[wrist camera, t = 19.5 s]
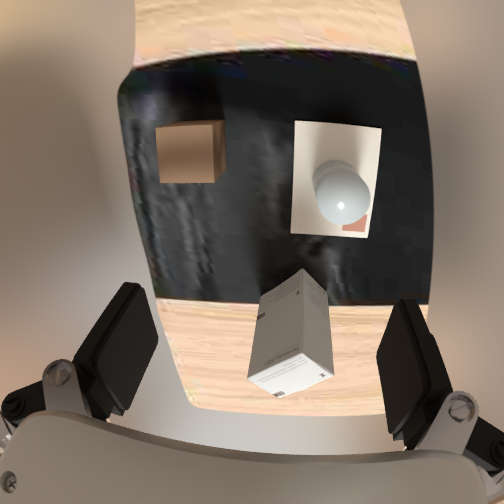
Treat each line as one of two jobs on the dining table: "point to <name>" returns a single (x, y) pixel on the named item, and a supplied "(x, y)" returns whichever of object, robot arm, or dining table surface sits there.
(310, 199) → the letter
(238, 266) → the dining table surface
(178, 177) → the walnut block
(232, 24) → the dining table surface
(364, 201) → the grey rounded cylinder
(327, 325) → the skincare box
